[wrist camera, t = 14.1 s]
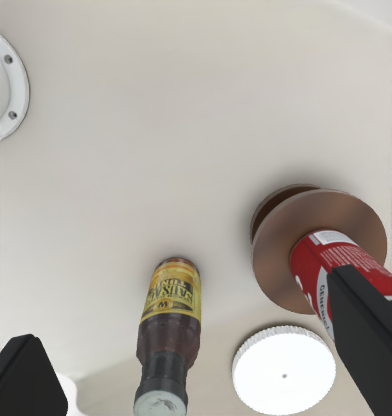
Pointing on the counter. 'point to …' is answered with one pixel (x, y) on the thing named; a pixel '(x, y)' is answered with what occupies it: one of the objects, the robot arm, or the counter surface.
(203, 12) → the counter surface
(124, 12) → the counter surface
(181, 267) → the sauce bottle
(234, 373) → the plastic lid
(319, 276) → the soda can
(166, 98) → the counter surface
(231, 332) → the counter surface
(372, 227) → the stand
